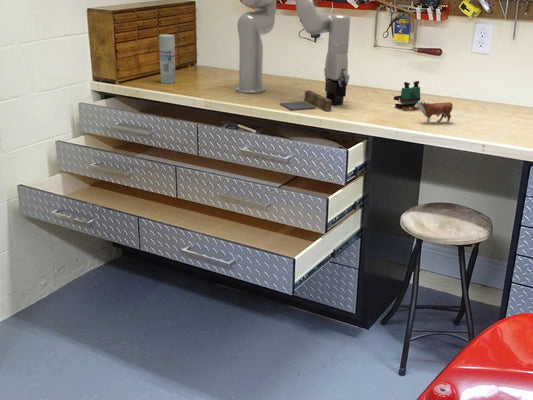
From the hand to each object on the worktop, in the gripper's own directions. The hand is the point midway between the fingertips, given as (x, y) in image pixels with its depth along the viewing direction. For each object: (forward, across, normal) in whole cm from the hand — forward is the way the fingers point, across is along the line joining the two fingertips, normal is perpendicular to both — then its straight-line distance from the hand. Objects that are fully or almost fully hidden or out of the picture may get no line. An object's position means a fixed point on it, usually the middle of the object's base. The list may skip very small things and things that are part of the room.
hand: (335, 94), depth 244 cm
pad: (+4, 0, -16) cm, 16 cm away
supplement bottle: (+4, 0, 0) cm, 4 cm away
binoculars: (+4, +14, +23) cm, 27 cm away
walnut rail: (+4, +1, -8) cm, 9 cm away
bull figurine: (+4, +36, +19) cm, 41 cm away
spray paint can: (+4, -58, -50) cm, 77 cm away
